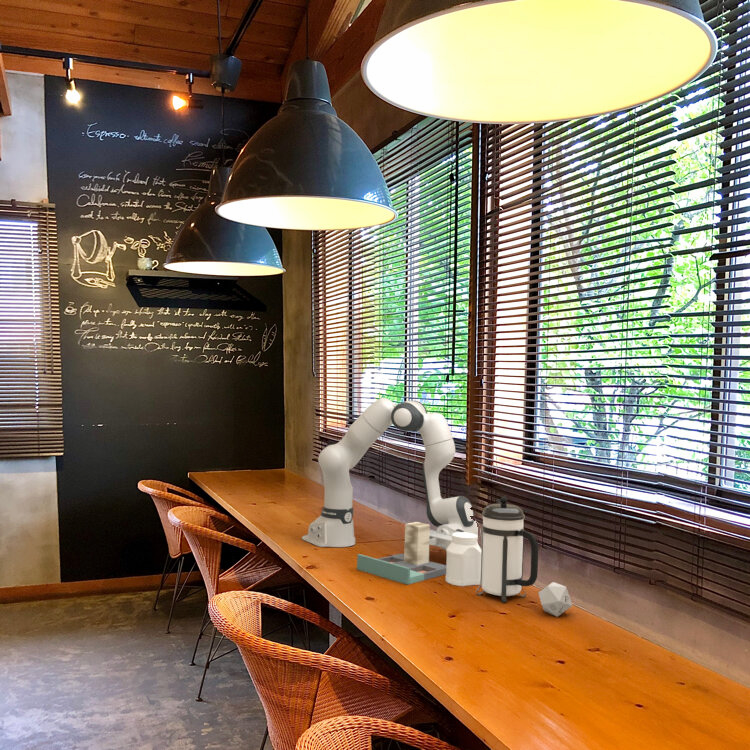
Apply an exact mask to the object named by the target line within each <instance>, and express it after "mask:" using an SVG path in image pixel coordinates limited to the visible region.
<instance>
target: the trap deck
mask: <svg viewBox="0 0 750 750" xmlns="http://www.w3.org/2000/svg"><path fill="white" fill-rule="evenodd" d="M356 558H357V559H356V560H357V561H356V570H357V571H361V572H364V573H367V572H368V574H371V575H374V576H377V577H381V578H384V579H388V580H391V581H394V582H397V583H401V584H405V585H406V586H407V585H412V584H414V583H416V584H417V583H420V582H423V581H426V580H429V579H433V578H436V577H441V576H446V564H443V563H438V562H434V561H431V560H429V563H425V564H421V565H414V564H410V563H407V562H404V553H397V554H392V555H388V556H384V557H379V558H374V557H371V556H368V555H365V554H361V553H359V554H357V557H356Z"/></svg>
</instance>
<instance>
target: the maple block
mask: <svg viewBox="0 0 750 750" xmlns="http://www.w3.org/2000/svg"><path fill="white" fill-rule="evenodd" d="M430 527H431V524H429V523H425V522H424V523H423V522H419V521H414V522H409V523H404V547H403V548H404V550H403V551H404V552H403V554H404V562H407V563H410V564H414V565H421V564H425V563H429V561H430V545H429V536H430V530H431V529H430Z"/></svg>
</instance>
